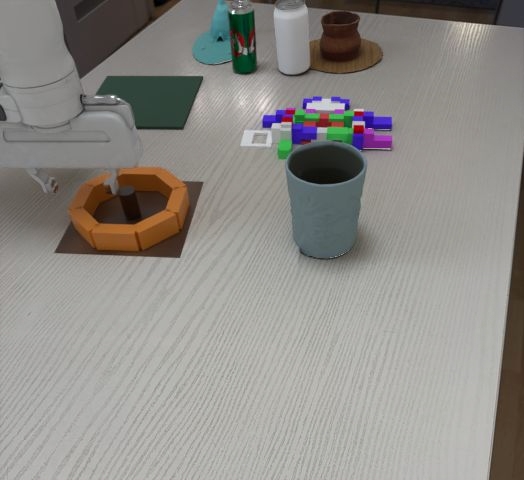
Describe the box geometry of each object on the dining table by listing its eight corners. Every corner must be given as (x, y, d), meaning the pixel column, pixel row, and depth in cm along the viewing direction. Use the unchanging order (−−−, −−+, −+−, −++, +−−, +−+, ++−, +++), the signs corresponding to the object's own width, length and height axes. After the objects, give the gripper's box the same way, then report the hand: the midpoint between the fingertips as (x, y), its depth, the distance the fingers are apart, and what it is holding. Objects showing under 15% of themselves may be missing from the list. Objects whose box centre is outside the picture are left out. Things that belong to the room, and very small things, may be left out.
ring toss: (55, 257, 76) (42, 228, 72) (94, 183, 87) (85, 154, 83) (180, 262, 74) (174, 233, 70) (204, 185, 85) (200, 156, 82)
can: (276, 63, 112) (270, -2, 102) (307, 57, 112) (304, -8, 102) (280, 78, 108) (274, 12, 98) (312, 72, 108) (310, 6, 98)
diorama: (184, 65, 114) (177, 19, 107) (202, 27, 126) (196, -16, 120) (241, 65, 112) (238, 19, 106) (253, 26, 125) (251, -17, 118)
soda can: (253, 62, 113) (249, -4, 104) (260, 72, 110) (257, 5, 101) (229, 66, 112) (223, 1, 103) (236, 76, 109) (231, 10, 100)
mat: (76, 128, 99) (75, 125, 99) (107, 78, 111) (107, 75, 111) (183, 129, 97) (182, 126, 96) (203, 78, 109) (202, 75, 109)
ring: (62, 248, 76) (55, 231, 74) (97, 182, 86) (92, 165, 84) (174, 252, 74) (170, 235, 72) (196, 184, 84) (193, 167, 82)
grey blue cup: (348, 269, 72) (356, 191, 62) (276, 254, 74) (273, 177, 65) (366, 223, 77) (376, 145, 68) (299, 211, 80) (299, 134, 71)
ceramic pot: (280, 61, 112) (279, 24, 107) (324, 31, 121) (325, -5, 116) (357, 81, 105) (360, 42, 100) (398, 46, 114) (403, 9, 109)
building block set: (390, 103, 99) (393, 78, 96) (392, 166, 86) (396, 140, 83) (254, 101, 102) (253, 77, 99) (237, 161, 89) (235, 136, 86)
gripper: (134, 82, 68) (157, 179, 79) (-18, 84, 70) (25, 178, 81) (120, 107, 64) (147, 205, 75) (-40, 108, 66) (8, 203, 77)
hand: (82, 191), depth 78 cm, fingers open, 8 cm apart
